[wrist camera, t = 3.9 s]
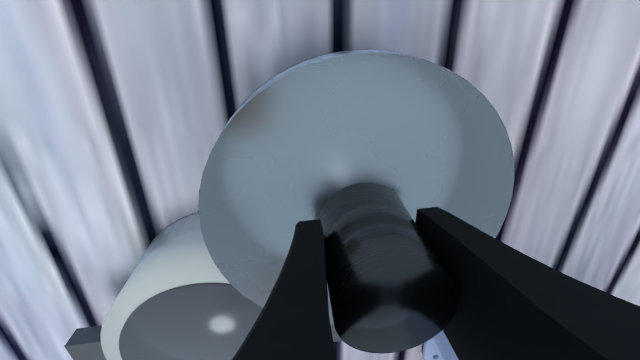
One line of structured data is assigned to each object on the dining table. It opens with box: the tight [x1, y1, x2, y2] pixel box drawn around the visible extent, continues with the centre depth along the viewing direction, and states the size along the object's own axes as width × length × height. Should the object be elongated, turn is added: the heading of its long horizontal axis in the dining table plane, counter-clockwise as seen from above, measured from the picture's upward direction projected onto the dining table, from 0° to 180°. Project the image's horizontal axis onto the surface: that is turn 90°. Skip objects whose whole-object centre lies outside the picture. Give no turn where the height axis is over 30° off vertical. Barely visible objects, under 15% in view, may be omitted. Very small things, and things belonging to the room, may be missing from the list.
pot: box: [64, 213, 343, 360], centre depth 18 cm, size 15×11×5 cm
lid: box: [198, 49, 514, 353], centre depth 9 cm, size 10×10×4 cm
